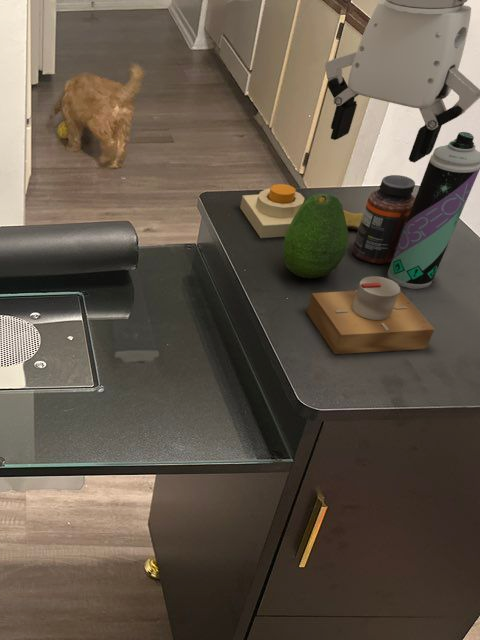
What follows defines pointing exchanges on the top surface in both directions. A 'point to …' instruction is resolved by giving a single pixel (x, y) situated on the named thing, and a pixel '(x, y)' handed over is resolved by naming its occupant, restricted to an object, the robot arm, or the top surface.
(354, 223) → the tan elongated lumpy piece
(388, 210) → the supplement bottle
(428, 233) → the spray can
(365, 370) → the top surface
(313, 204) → the fruit
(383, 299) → the knob
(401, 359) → the top surface
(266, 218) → the button box
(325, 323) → the dial panel
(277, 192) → the button
